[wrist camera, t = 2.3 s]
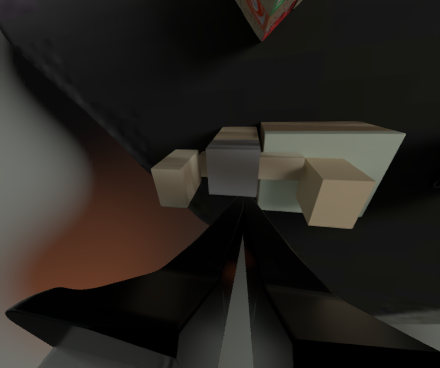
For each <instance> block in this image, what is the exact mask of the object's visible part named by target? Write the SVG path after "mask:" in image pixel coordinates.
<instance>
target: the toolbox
mask: <svg viewBox="0 0 440 368" xmlns="http://www.w3.org/2000/svg"><path fill="white" fill-rule="evenodd" d="M265 131H394V130H390V129H386V128H382V127H379V126H375V125H371V124H367V123H363V122H359V121H328V122H261V130H260V141H259V138H258V133H257V127H223V128H222V129H221V130H220V131H219V133H218V134H217V135H216V136H215V138H214V139H213V140H212V142H211V143H210V144H209V145H208V147H207V148H206V161H207V173H208V185H209V194H217V195H233V196H249V197H256V194H257V201H258V191H259V181H260V179H258V173H259V163H260V153H261V152H263V142H264V132H265Z"/></svg>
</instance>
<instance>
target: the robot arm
mask: <svg viewBox="0 0 440 368" xmlns="http://www.w3.org/2000/svg"><path fill="white" fill-rule="evenodd" d="M430 185H431V186H432V187H434V188H440V169H439V171H438V172H437V174H436V175H435V176H434V178H433V179H432V180H431V182H430ZM244 203H245V204H244ZM243 222H244V224H243ZM242 236H243V241H244V253H245V266H246V278H247V290H248V303H249V315H250V328H251V341H252V352H253V365H254V368H440V351H438V350H436V349H434V348H432V347H430V346H428V345H426V344H424V343H422V342H420V341H418V340H416V339H415V338H413V337H411V336H409V335H407V334H405V333H403V332H401V331H399V330H398V329H396V328H394V327H392V326H390V325H388V324H386V323H384V322H382V321H380V320H378V319H377V318H375V317H373V316H371V315H369V314H367V313H365V312H363V311H361V310H359V309H358V308H356V307H354V306H352V305H350V304H348V303H346V302H345V301H343V300H342V299H340V298H339V297H338V296H336V295H335V294H334V293H333V292H332V291H331V290H330V289H329V288H328V287H327V286H326V285H325V284H324V283H323V282H322V281H321V280H320V279H319V278H318V277H317V276H316V275H315V274H314V273H313V272H312V271H311V269H310V268H309V267H308V266H307V265H306V264H305V263H304V262H303V261H302V260H301V259H300V258H299V257H298V255H297V254H296V253H295V252H294V251H293V250H292V249H291V247H290V246H289V245H288V244H287V242H286V241H285V240H284V238H283V237H282V236H281V235H280V233H279V232H278V231H277V229H276V228H275V227H274V225H273V224H272V223H271V221H270V220H269V219H268V217H267V216H266V215H265V213H264V212H263V211H262V209H261V208H260V207H259V205H258V204H257V203H256V201H255V200H254V199H253V197H247V196H246V197H244V196H237V197H236V198H235V199H234V200H233V201H232V203H231V204H230V205H229V206H228V207H227V208H226V209H225V210H224V211H223V212H222V213H221V214H220V215H219V216H218V217H217V219H216V220H215V221H214V222H213V223H212V224H211V225H210V226H209V227H208V228H207V229H206V230H205V231H204V232H203V233H202V234H201V235H200V236H199V237H198V238H197V239H196V240H195V241H194V242H193V243H192V244H191V245H189V246H188V247H187V248H186V249H185V250H183V251H182V252H181V253H180V254H179V255H178V256H176V257H175V258H174V259H173V260H172V261H171V262H169V263H168V264H167V265H165V266H164V267H162V268H161V269H159V270H157V271H155V272H152V273H149V274H146V275H142V276H138V277H135V278H131V279H127V280H124V281H120V282H116V283H113V284H109V285H105V286H101V287H98V288H92V289H84V290H77V289H69V288H64V287H57V288H52V289H49V290H46V291H43V292H40V293H38V294H35V295H33V296H30V297H28V298H26V299H24V300H22V301H20V302H19V303H17V304H15V305H14V306H12V307H11V308H9V309H8V310H7V311H6V312H5V314H6V316H7V317H8V318H9V319H10V320H11V321H12V322H14V323H15V324H17V325H19V326H20V327H22V328H23V329H25V330H27V331H28V332H30V333H31V334H33V335H35V336H36V337H38V338H39V339H41V340H43V341H44V342H46V343H47V344H49V345H51V346H52V347H53V349H52V350H51V351H50V352H49V354H48V355H47V356H46V358H45V359H44V360H43V361H42V363H41V364H40V365H39V367H38V368H218V363H219V357H220V352H221V347H222V341H223V336H224V331H225V326H226V320H227V315H228V310H229V304H230V299H231V294H232V289H233V283H234V278H235V273H236V268H237V263H238V257H239V252H240V247H241V242H242Z"/></svg>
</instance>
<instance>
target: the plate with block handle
mask: <svg viewBox="0 0 440 368" xmlns="http://www.w3.org/2000/svg"><path fill="white" fill-rule="evenodd" d="M405 135H406V134H405V133H401V132H397V131H265V132H264V142H263V152H273V153H301V154H302V155H303V156H304V157H305V161H304V165H303V169H302V173H301V177H300V181H291V180H269V179H260V181H259V191H258V201H257V204H258V205H259V207H260V208H261V209H262V210H274V211H287V212H301V213H303V214H304V217H305V219H306V221H307V223H308V225H312V226H324V227H335V228H347V229H352V228H353V226H354V224H355V222H356V220H357V218H358V217H362V215H363V213H364V211H365V209H366V208H367V206H368V204H369V202H370V200H371V198H372V196H373V195H374V193H375V191H376V189H377V187H378V185H379V183H380V182H381V180H382V178H383V176H384V174H385V172H386V170H387V169H388V167H389V165H390V163H391V161H392V159H393V157H394V156H395V154H396V152H397V150H398V148H399V146H400V145H401V143H402V141H403V139H404V137H405Z"/></svg>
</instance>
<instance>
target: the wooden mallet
mask: <svg viewBox="0 0 440 368" xmlns="http://www.w3.org/2000/svg"><path fill="white" fill-rule="evenodd" d="M304 161H305V157H304V156H303V155H302V154H301V153H273V152H261V153H260V163H259V173H258V179H269V180H291V181H300V177H301V173H302V169H303V165H304ZM151 172H152V175H153V179H154V182H155V186H156V190H157V193H158V197H159V200H160V204H161V206H168V207H181V208H187V207H188V205H189V203H190V201H191V200H192V198H193V196H194V194H195V192H196V190H197V189H198V187H199V185H200V183H201V177H208V173H207V161H206V151H202V152H201V154H200V155H199V153H198V150H175V151H173V152H172V153H171V154H169V155H168V156H167V157H165V158H164V159H163V160H162V161H160V162H159V163H158V164H156V165H155V166H154V167H152V168H151Z"/></svg>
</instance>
